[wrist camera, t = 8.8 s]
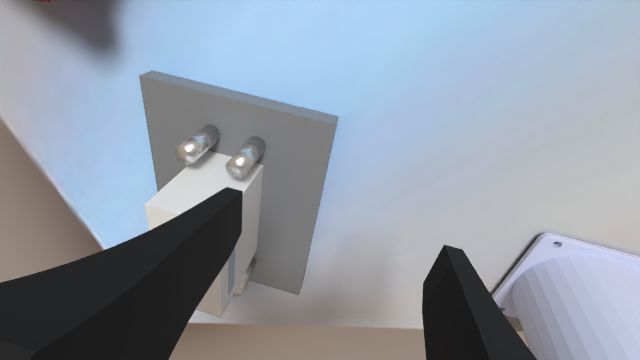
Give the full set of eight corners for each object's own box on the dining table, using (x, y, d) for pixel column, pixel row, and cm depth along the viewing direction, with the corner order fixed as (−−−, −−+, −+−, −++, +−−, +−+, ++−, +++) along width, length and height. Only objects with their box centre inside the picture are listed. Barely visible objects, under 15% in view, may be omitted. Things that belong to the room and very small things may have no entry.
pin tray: (338, 116, 19) (324, 148, 15) (302, 283, 28) (288, 327, 24) (152, 70, 20) (99, 90, 16) (176, 246, 29) (145, 283, 25)
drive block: (264, 165, 20) (220, 226, 15) (257, 250, 25) (221, 317, 20) (204, 149, 21) (143, 204, 16) (208, 235, 25) (161, 299, 20)
